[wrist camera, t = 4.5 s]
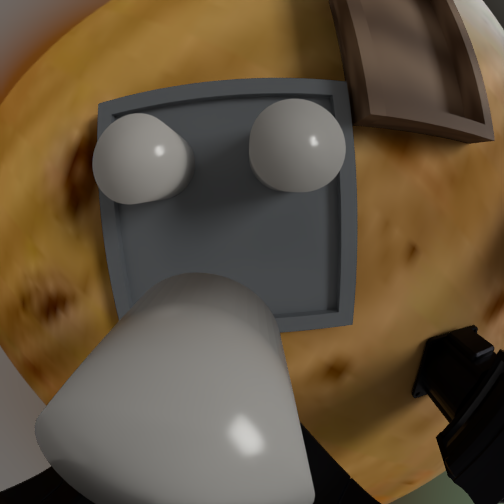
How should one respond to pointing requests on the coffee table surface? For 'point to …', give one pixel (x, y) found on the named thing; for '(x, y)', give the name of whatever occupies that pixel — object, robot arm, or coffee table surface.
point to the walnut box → (412, 68)
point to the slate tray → (239, 207)
